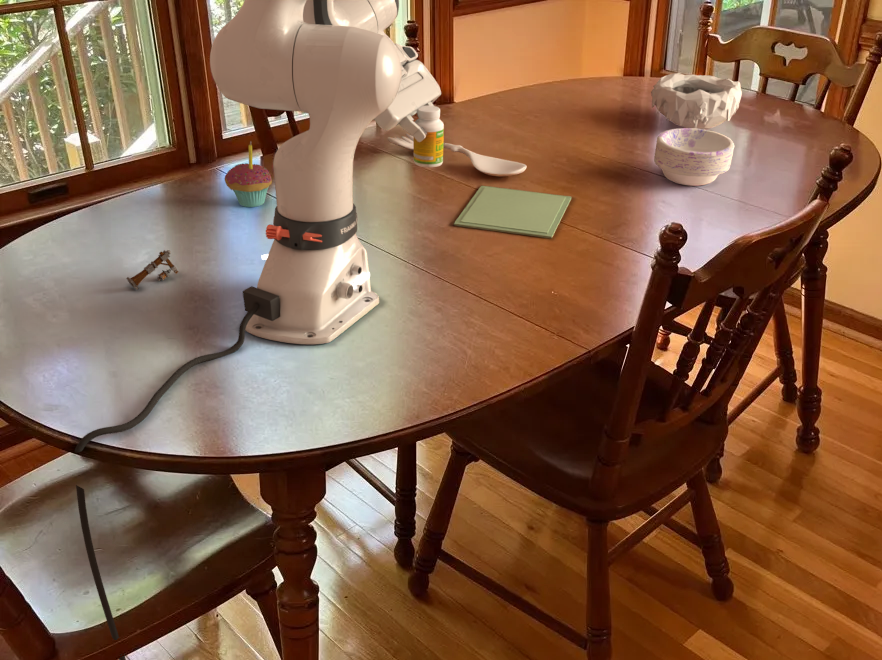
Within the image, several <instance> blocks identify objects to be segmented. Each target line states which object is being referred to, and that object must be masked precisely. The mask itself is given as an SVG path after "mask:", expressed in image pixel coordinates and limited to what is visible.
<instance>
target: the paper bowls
mask: <svg viewBox="0 0 882 660" xmlns="http://www.w3.org/2000/svg"><path fill="white" fill-rule="evenodd" d="M734 150H735V142H734V141H733V140H732V139H731V138H730V137H729V136H727V135H725V134H722V133H720V132H717V131H713V130H710V129H696V128H686V127H678V128H670V129H667V130H663V131H662V132H660V133H659V134H658V136H657V138H656V143H655V151H654V157H653V161H654V164H655V165H656V166H657V167H658V168H659V169H661V170H662V173H663V175H664V177H665V178H666V179H667V180H669V181H671V182H672V183H675V184H678V185H682V186H691V187H697V186H705V185H709V184H711V183H713V182H714V181H715V180H716V179H717V178H718V176H719V175H722V174H724V173H726V172H728V171H729V170H730V168H731V165H732V160H733V155H734Z"/></svg>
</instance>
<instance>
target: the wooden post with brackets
mask: <svg viewBox="0 0 882 660" xmlns="http://www.w3.org/2000/svg"><path fill="white" fill-rule="evenodd" d="M171 254H172V252H171V250H169V249H167V250H163V251H160V252H159V253H158V256H157V258H155V259H154V260H151V261H150V263H148V264H147V265H146V266H145V267H143V269H142V270H141V271H140V272H138V273H137V274H135V275H134V276H131V277H129V276H127V277H125V280H127V282H128V283H129V285H130V286H131V287H132V288H133V289H135V290H136V291H138V289H139V287H138V286H139V285H140V284H141V283H142V282H143V281H144V280H145V278H146V277H147V276H148V275H151V274H152V273H153V272H155V271H156V269H158V268H159V266H160V265H163V266H168V267H169V269H166V271H165V270H163V269H162V272H160V273H158V274H157V281H158V282H160V281H165V279H167V278H170V275H169V274H171V272H173V273H174V274H176V275H177V274H178V273H179V271H178V269H177V267H176V266H175V265H174V264H173V263H172V261H171V259H169V258H170V257H171Z"/></svg>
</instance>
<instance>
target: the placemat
mask: <svg viewBox="0 0 882 660" xmlns="http://www.w3.org/2000/svg"><path fill="white" fill-rule="evenodd" d="M571 200H572V196H570V195H562V194H561V195H560V194H553V193H545V192H538V191H537V192H536V191H530V190H522V189H513V188H507V187H506V188H505V187H498V186H491V185H480V187H479V188H478V190H476V192H475V194H473V196H472V198H470V200H469V202H467V204H466V206H465V207H464V209H463V210H462V212H461V213H460V214H459V216H458V217H457V218H456V219H455V221H454V223H453V226H455V227H461V228H462V227H463V228H470V229H476V230H477V229H478V230H484V231H485V230H486V231H493V232H499V233H508V234H515V235H523V236H529V237H536V238H542V239H543V238H545V239H553V237H554V235H555V232H556V231H557V228H558V227H559V224H560V223H561V220H562V218H563V217H564V214H565V212H566V210H567V209H568V206H569V205H570V202H571Z"/></svg>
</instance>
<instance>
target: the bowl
mask: <svg viewBox="0 0 882 660" xmlns="http://www.w3.org/2000/svg"><path fill="white" fill-rule="evenodd" d="M650 95H651V109H650V111H652V109H653V108H654V107H656V110H657V111H656V113H657V115H658V114H659V113H660V114H661V115H662V116H663V117H665V118H666V120H668V122H669V123H670V122H671V123H673V124H674V125H676V126H678V127H680V128H696V129H704V130H710V129H712V128H715V127H717V126H720V125H721V124H723V123H725V122H729V121H731V118H732V117H733V116H734V115H735V116H736V114H737V111H738V109H739V107H740V104H741V103H740V102H741V99H742V95H743V92H742V88H741V82H740V81H733V80H732V79H730V78H725V79H723V78H719V77H717V76H714V75H709V74H708V75H707V74H706V75H701V74H698V75H697V74H683V73H682V72H674V73H670V74H666V75H664V76H661V77H660V78H659V80H657V82H656V83H655V84H654V85H653V88H652V90H651V91H650Z"/></svg>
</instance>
